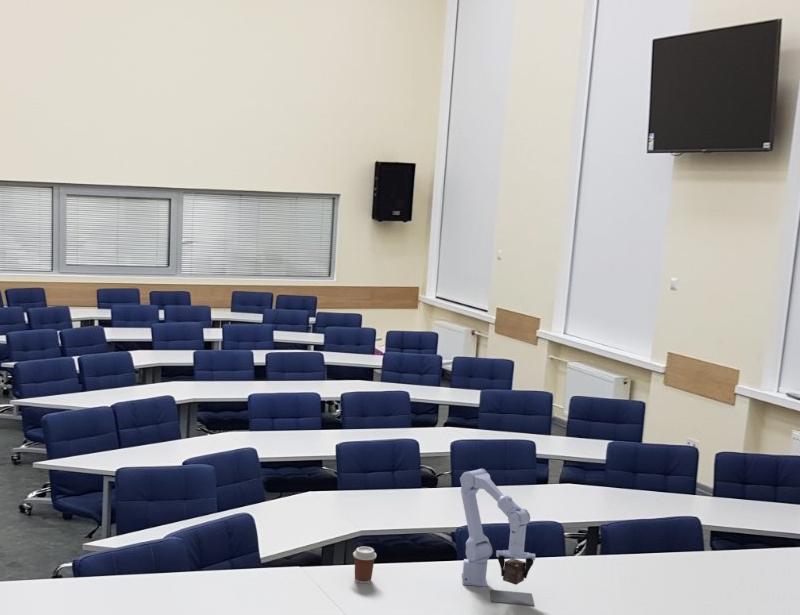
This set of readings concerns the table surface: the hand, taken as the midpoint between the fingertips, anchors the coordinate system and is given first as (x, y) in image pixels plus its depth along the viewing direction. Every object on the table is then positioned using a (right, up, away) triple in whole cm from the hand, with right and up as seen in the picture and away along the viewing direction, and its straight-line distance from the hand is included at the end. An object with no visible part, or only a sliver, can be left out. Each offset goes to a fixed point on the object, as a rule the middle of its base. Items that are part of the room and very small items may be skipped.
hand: (513, 576), depth 364 cm
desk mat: (-1, -9, +1) cm, 9 cm away
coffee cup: (-57, -4, +8) cm, 58 cm away
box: (0, -2, 0) cm, 2 cm away
